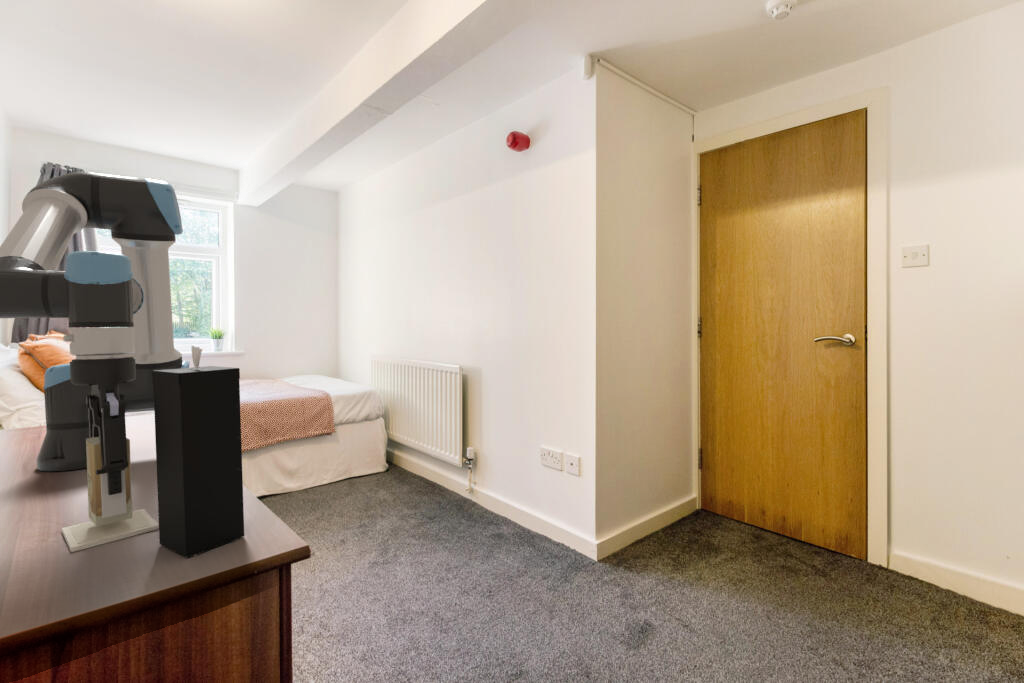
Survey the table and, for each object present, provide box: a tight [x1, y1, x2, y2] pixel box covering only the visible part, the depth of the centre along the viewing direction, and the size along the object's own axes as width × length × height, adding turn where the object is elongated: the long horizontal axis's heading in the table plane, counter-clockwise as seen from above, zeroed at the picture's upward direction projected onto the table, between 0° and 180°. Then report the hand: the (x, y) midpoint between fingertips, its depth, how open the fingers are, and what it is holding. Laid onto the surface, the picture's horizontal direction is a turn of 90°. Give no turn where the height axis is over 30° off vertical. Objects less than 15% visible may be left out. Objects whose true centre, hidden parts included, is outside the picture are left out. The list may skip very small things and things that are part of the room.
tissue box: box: [152, 345, 245, 559], centre depth 69 cm, size 8×8×28 cm
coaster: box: [61, 508, 159, 553], centre depth 73 cm, size 10×10×1 cm
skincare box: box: [86, 437, 133, 527], centre depth 73 cm, size 6×4×12 cm
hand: (110, 508), depth 73 cm, fingers closed on skincare box, 6 cm apart
